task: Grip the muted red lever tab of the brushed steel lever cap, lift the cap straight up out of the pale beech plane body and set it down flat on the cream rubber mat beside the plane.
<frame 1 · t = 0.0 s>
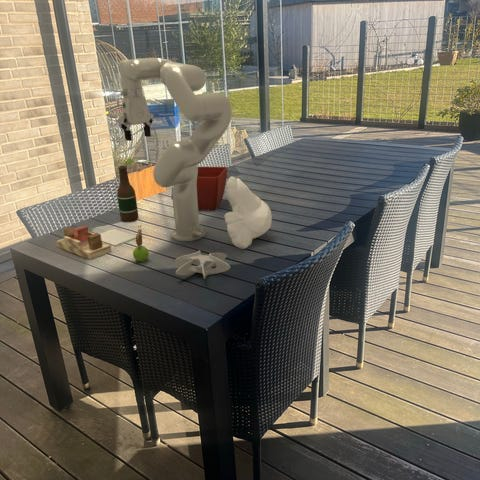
hand: (138, 138, 191), 37 cm above the table, tool pointing down, fingers open, 9 cm apart
plant pot: (205, 206, 225), on the table
sculpture: (202, 273, 158), on the table
snail figurine: (142, 260, 170), on the table
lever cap: (82, 243, 181), point 2 cm above the table, touching plane body
white bear figurine: (244, 241, 182), on the table
plane body: (84, 249, 182), on the table
beer bottle: (129, 220, 212), on the table
mat: (114, 237, 191), on the table
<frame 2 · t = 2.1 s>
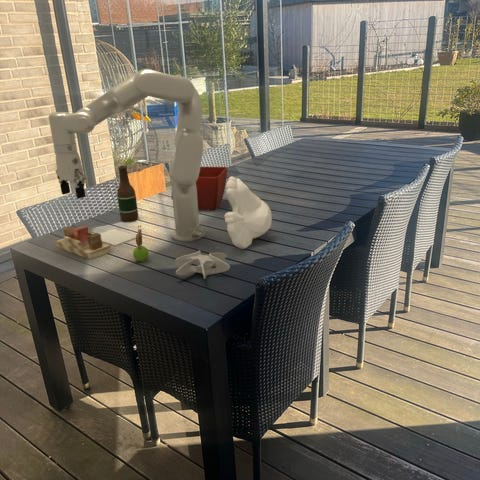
hand: (73, 195, 174), 21 cm above the table, tool pointing down, fingers open, 9 cm apart
nothing on the table moved.
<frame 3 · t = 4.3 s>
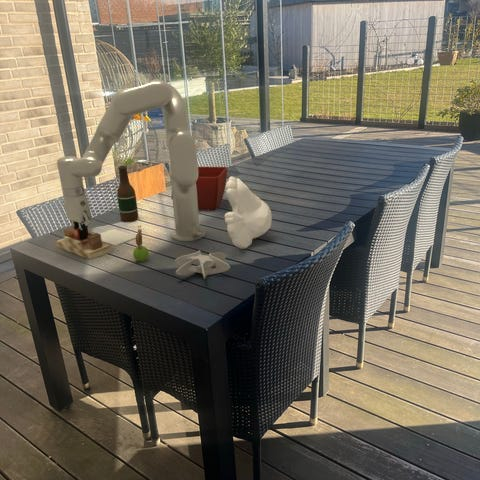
hand: (81, 237, 180), 5 cm above the table, tool pointing down, fingers closed on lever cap, 3 cm apart
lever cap: (82, 243, 181), point 3 cm above the table, touching gripper, plane body
everything else where it was.
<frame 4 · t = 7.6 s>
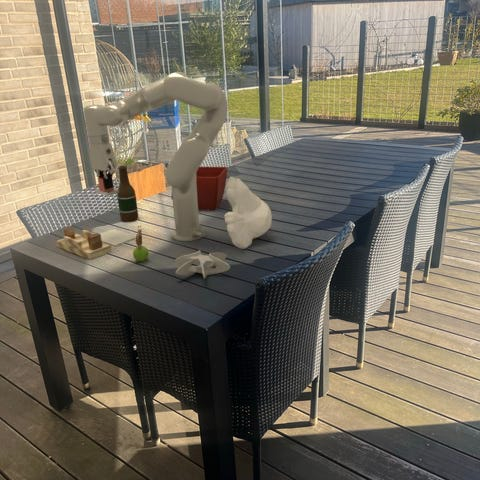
hand: (106, 187, 184), 21 cm above the table, tool pointing down, fingers closed on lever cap, 3 cm apart
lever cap: (107, 192, 185), point 19 cm above the table, touching gripper
everything else where it was.
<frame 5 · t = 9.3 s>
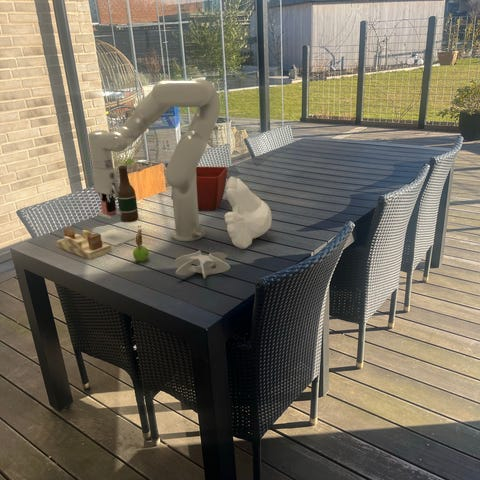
hand: (109, 210, 187), 12 cm above the table, tool pointing down, fingers closed on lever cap, 3 cm apart
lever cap: (110, 215, 188), point 10 cm above the table, touching gripper
everything else where it was.
when the fingers open (5 cm above the table, at t = 10.9 s): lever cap drops 3 cm, resting on mat.
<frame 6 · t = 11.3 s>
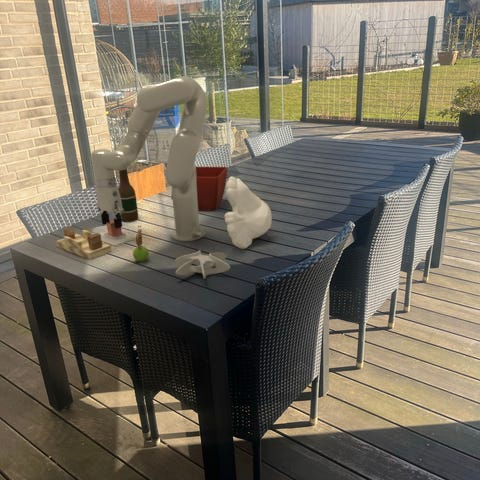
hand: (112, 225, 190), 5 cm above the table, tool pointing down, fingers open, 7 cm apart
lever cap: (115, 236, 192), resting on mat
everything else where it was.
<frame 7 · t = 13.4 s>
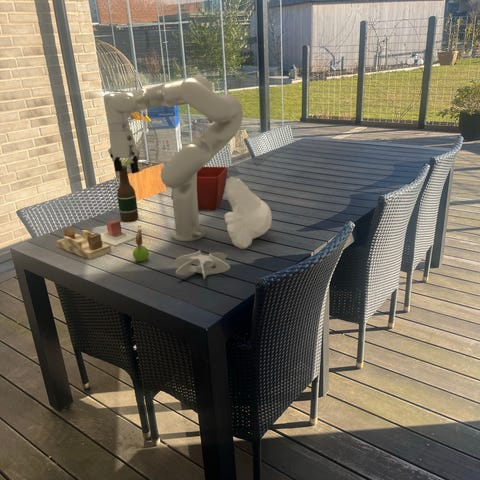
hand: (127, 171, 186), 26 cm above the table, tool pointing down, fingers open, 9 cm apart
nothing on the table moved.
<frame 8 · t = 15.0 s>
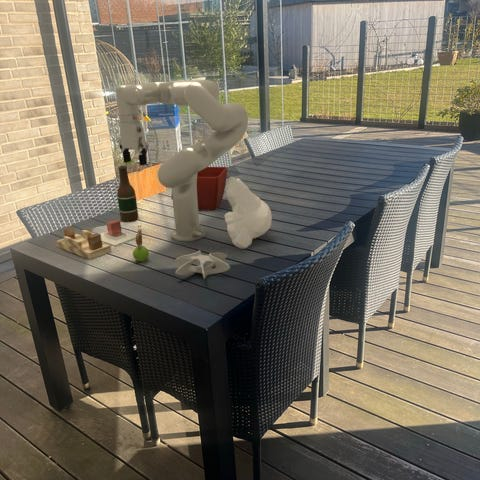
hand: (135, 163, 187), 28 cm above the table, tool pointing down, fingers open, 9 cm apart
nothing on the table moved.
at the end: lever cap inside the target area on the mat (0.6 cm from its centre), point 0.5 cm above the mat's base; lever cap tilted 0°; the gripper is holding nothing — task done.
